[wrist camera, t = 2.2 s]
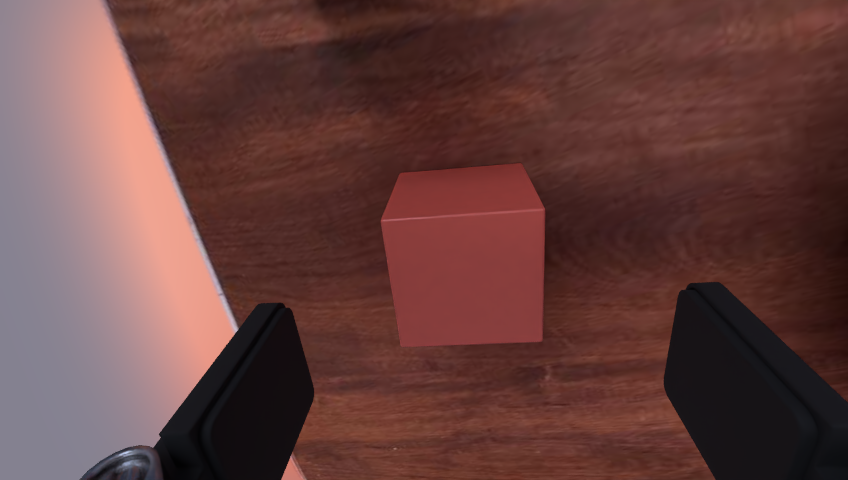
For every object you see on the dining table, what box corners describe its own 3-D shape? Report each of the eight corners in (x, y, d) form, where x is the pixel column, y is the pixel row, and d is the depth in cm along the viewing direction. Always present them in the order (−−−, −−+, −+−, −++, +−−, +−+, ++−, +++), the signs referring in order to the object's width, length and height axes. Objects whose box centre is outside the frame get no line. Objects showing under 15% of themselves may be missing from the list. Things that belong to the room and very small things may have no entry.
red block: (412, 276, 18) (400, 348, 14) (398, 172, 16) (379, 220, 12) (522, 270, 17) (543, 342, 13) (522, 161, 15) (546, 208, 11)
